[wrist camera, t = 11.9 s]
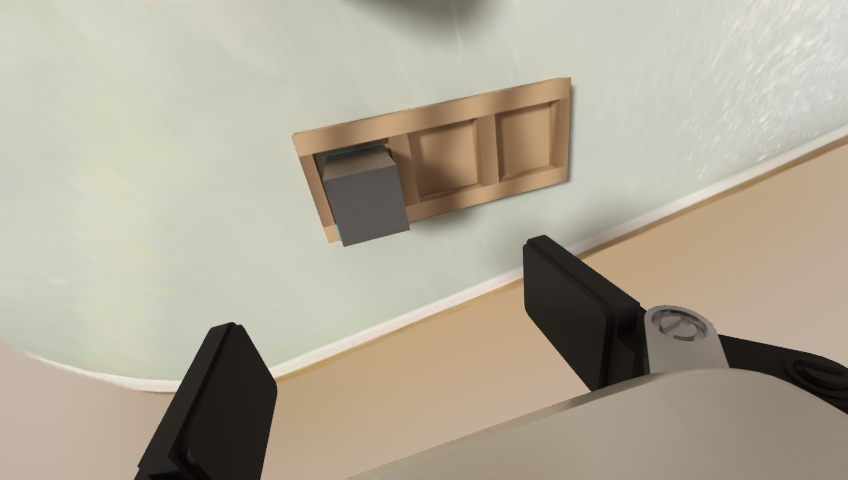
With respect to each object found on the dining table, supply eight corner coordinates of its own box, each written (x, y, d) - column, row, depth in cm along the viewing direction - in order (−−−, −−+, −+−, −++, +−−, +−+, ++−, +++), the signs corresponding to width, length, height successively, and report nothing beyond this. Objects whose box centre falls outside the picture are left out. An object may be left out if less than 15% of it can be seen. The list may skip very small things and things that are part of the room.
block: (380, 144, 27) (396, 164, 20) (392, 195, 29) (409, 229, 22) (326, 156, 26) (322, 181, 19) (342, 207, 28) (343, 246, 21)
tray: (556, 78, 28) (572, 77, 27) (554, 175, 33) (568, 181, 31) (294, 133, 25) (290, 137, 23) (329, 233, 29) (328, 244, 28)
